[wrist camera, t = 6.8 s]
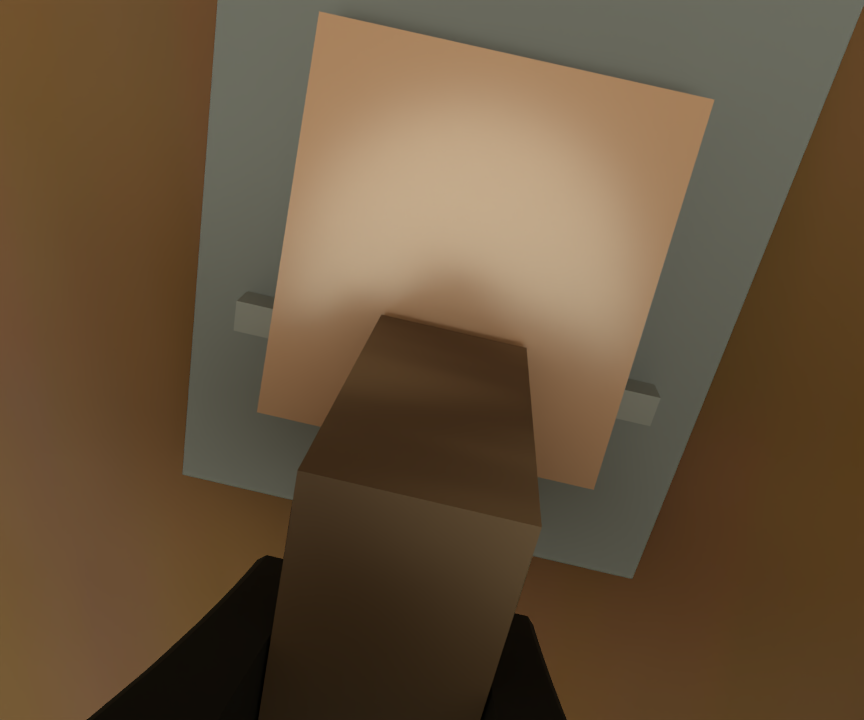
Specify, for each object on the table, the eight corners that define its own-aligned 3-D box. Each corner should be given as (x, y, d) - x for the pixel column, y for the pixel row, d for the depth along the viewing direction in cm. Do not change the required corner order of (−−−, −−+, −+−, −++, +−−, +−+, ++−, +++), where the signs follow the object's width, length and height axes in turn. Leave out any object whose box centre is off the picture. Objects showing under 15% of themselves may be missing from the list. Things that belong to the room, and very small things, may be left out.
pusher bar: (526, 348, 11) (541, 527, 7) (437, 671, 14) (403, 961, 9) (381, 314, 11) (297, 469, 7) (318, 643, 14) (226, 918, 9)
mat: (934, -199, 10) (976, -225, 9) (629, 566, 16) (636, 598, 15) (253, -346, 10) (228, -387, 9) (190, 465, 16) (170, 489, 15)
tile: (584, 461, 13) (692, 106, 12) (593, 489, 12) (714, 99, 10) (276, 390, 14) (335, 26, 12) (256, 412, 12) (318, 11, 11)
